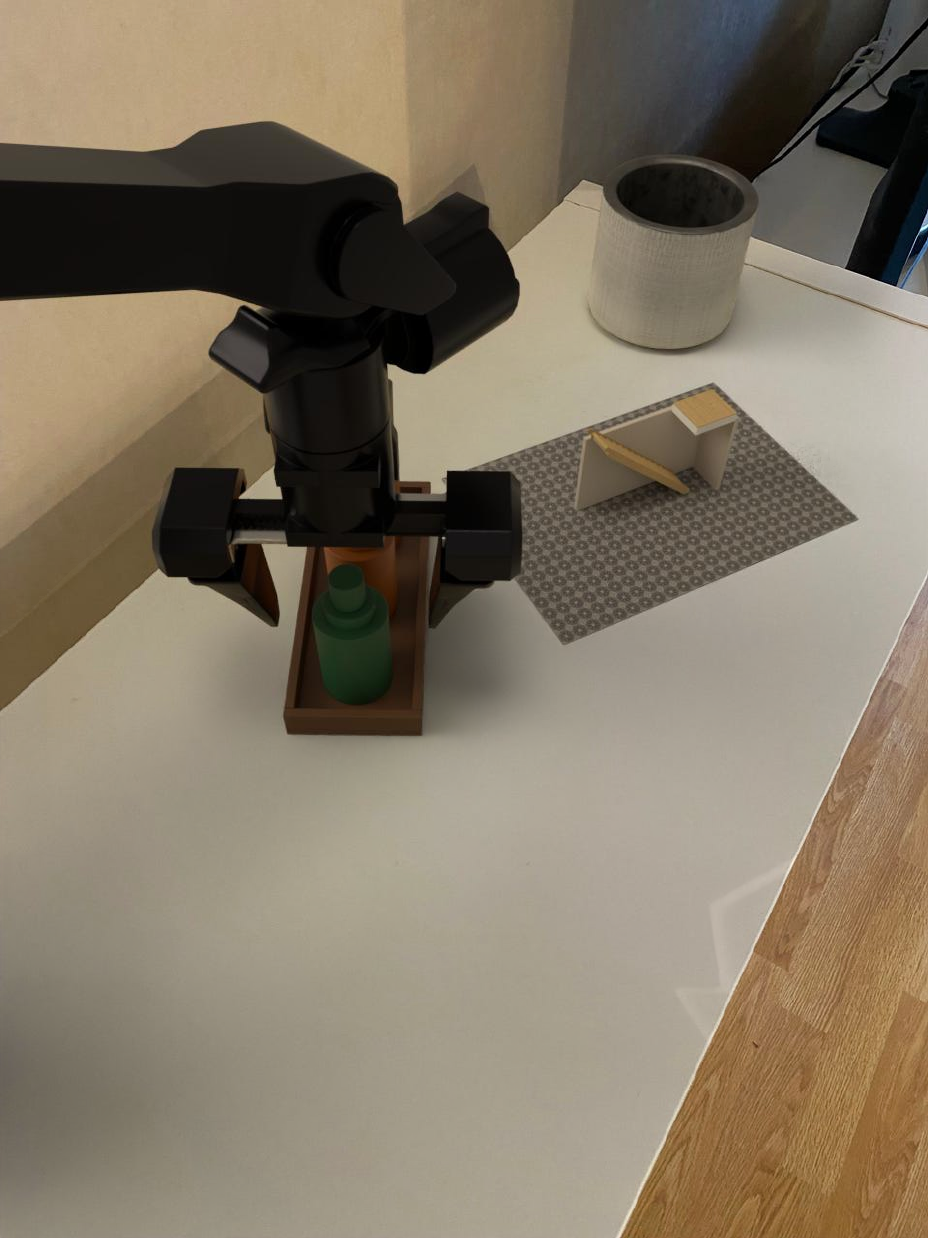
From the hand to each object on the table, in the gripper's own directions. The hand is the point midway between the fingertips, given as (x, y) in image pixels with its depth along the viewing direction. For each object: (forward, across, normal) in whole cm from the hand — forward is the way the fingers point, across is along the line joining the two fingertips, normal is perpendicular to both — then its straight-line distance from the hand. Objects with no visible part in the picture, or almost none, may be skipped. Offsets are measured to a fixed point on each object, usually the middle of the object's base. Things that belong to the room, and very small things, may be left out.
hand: (354, 621), depth 60 cm
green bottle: (+5, 0, 0) cm, 5 cm away
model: (+6, -20, -16) cm, 27 cm away
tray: (+6, 0, -6) cm, 8 cm away
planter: (+6, -23, -40) cm, 47 cm away
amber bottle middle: (+5, 0, -6) cm, 8 cm away
